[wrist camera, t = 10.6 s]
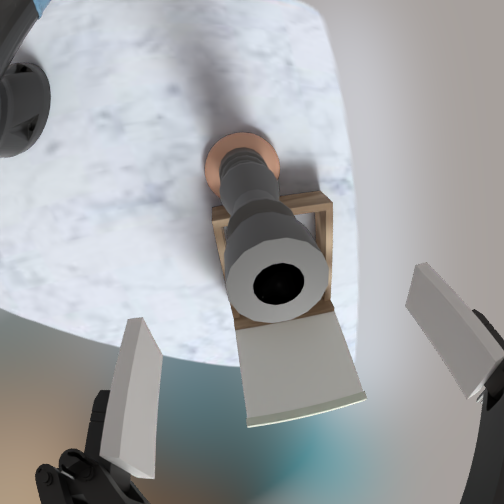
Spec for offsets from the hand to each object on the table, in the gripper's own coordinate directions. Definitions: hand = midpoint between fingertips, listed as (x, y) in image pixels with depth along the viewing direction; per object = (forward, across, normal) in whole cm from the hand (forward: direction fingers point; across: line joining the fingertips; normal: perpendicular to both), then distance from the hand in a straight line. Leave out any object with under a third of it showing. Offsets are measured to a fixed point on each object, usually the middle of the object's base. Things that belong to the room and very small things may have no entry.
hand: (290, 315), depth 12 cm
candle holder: (+28, 0, 0) cm, 28 cm away
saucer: (+29, 0, 0) cm, 29 cm away
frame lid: (+22, +3, -25) cm, 33 cm away
